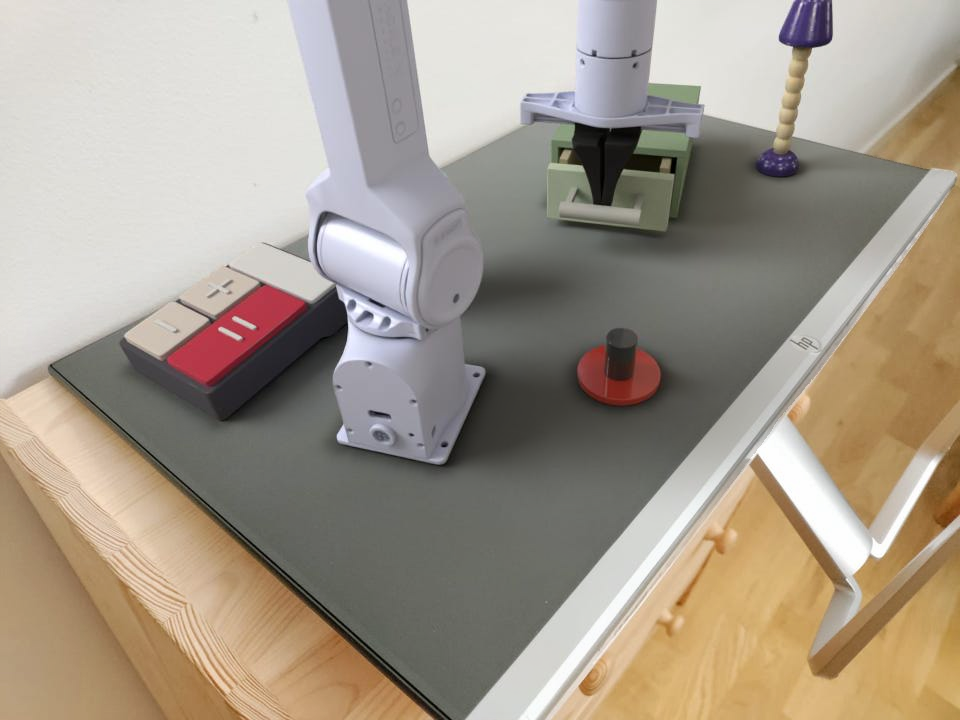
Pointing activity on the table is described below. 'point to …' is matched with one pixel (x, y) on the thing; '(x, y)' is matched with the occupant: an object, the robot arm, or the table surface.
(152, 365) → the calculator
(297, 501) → the table surface
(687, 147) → the cabinet
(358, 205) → the robot arm
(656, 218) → the drawer
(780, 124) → the toy lamp
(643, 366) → the lid
